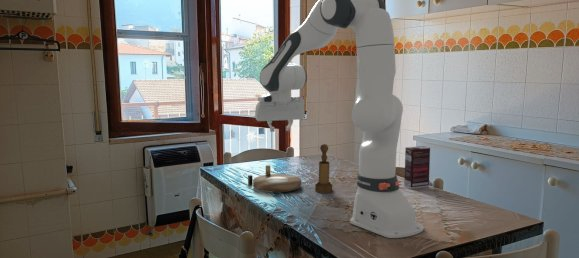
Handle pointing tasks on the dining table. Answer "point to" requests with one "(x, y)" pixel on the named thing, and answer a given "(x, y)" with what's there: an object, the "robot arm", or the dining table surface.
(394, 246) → the dining table surface
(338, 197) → the dining table surface
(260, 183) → the turntable
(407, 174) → the supplement box
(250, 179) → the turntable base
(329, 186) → the brown wooden upright piece
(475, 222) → the dining table surface
